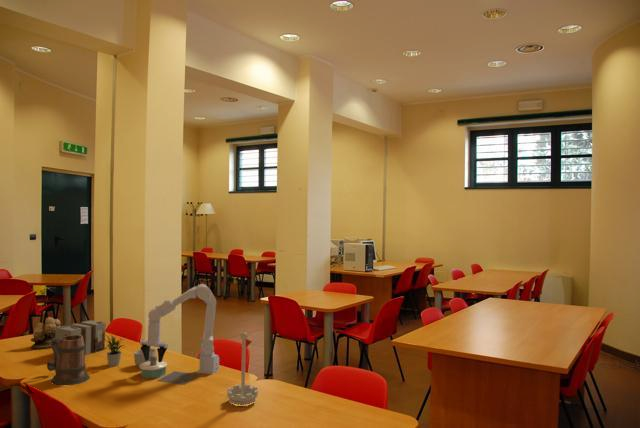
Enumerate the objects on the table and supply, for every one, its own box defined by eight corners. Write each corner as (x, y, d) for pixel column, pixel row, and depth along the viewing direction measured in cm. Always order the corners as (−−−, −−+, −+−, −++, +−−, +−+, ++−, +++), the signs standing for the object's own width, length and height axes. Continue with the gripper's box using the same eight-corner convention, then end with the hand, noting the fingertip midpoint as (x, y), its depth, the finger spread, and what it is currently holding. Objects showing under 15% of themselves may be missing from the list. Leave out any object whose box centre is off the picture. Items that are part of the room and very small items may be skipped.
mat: (200, 375, 243) (200, 374, 243) (184, 385, 229) (184, 384, 229) (174, 372, 248) (174, 371, 248) (156, 381, 233) (156, 380, 233)
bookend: (108, 349, 284) (109, 321, 284) (69, 361, 261) (70, 330, 261) (89, 345, 290) (89, 318, 290) (49, 356, 268) (50, 326, 268)
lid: (172, 363, 247) (172, 354, 247) (156, 371, 234) (157, 361, 234) (150, 360, 250) (150, 351, 250) (133, 368, 238) (133, 358, 238)
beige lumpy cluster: (58, 341, 298) (59, 313, 298) (68, 345, 292) (69, 316, 291) (26, 347, 283) (27, 317, 283) (36, 351, 277) (37, 321, 277)
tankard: (97, 377, 237) (98, 335, 237) (67, 388, 222) (68, 344, 222) (64, 369, 247) (65, 329, 247) (32, 379, 232) (33, 337, 231)
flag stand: (244, 410, 203) (246, 337, 202) (220, 403, 209) (222, 332, 209) (263, 400, 214) (265, 331, 214) (241, 394, 221) (242, 327, 220)
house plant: (90, 366, 253) (90, 334, 253) (110, 359, 265) (111, 329, 265) (111, 370, 247) (112, 338, 247) (131, 363, 260) (132, 332, 260)
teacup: (148, 370, 249) (149, 354, 249) (129, 368, 252) (129, 352, 252) (162, 362, 263) (163, 347, 263) (144, 360, 265) (144, 345, 265)
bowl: (169, 372, 246) (169, 363, 246) (156, 379, 236) (156, 370, 236) (150, 370, 249) (150, 361, 249) (136, 377, 239) (136, 367, 239)
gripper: (136, 333, 240) (135, 361, 240) (162, 336, 236) (161, 365, 236) (145, 330, 247) (144, 357, 247) (170, 333, 243) (170, 360, 243)
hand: (153, 361), depth 242 cm, fingers open, 7 cm apart
